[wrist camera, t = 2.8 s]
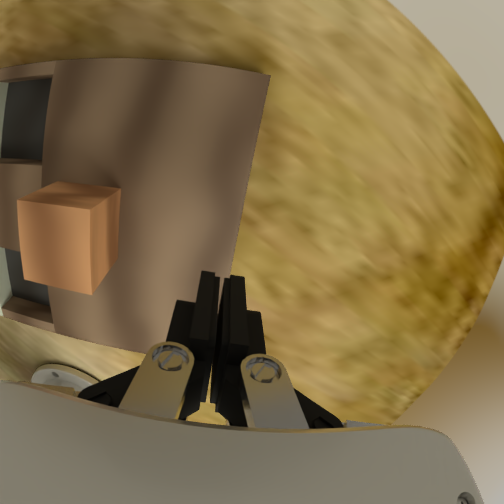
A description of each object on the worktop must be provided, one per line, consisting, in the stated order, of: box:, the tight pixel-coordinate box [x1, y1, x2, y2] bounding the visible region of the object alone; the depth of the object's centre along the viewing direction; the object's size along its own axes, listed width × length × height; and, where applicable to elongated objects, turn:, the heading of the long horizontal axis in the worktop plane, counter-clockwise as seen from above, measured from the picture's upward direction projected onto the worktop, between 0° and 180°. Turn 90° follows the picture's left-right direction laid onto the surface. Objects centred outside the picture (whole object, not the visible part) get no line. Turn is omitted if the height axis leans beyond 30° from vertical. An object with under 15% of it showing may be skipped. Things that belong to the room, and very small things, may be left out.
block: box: [17, 181, 121, 295], centre depth 17 cm, size 5×5×5 cm
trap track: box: [0, 58, 271, 354], centre depth 20 cm, size 21×22×2 cm
